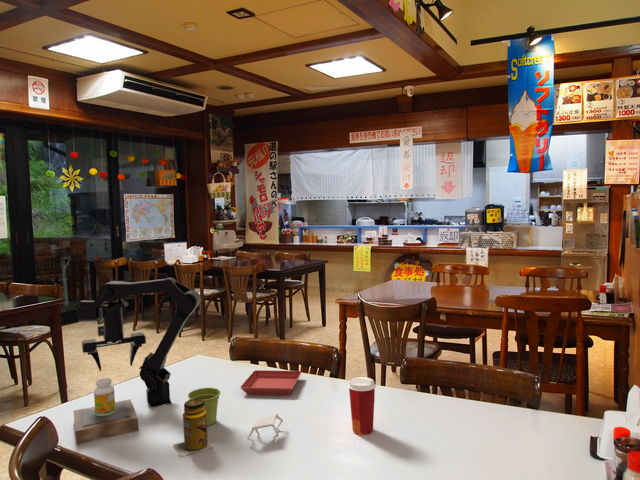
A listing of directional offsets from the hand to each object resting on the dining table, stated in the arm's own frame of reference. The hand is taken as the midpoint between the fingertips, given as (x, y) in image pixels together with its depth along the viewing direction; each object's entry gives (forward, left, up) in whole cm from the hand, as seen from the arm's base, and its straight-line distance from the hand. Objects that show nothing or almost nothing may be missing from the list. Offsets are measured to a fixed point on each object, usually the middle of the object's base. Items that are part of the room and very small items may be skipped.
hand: (115, 368), depth 159 cm
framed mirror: (+5, +16, -12) cm, 21 cm away
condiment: (-14, +42, -12) cm, 46 cm away
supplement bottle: (+5, +16, -8) cm, 19 cm away
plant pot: (-21, +29, -12) cm, 38 cm away
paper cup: (-57, +58, -12) cm, 82 cm away
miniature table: (-33, +48, -12) cm, 60 cm away
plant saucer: (-49, +13, -13) cm, 52 cm away
